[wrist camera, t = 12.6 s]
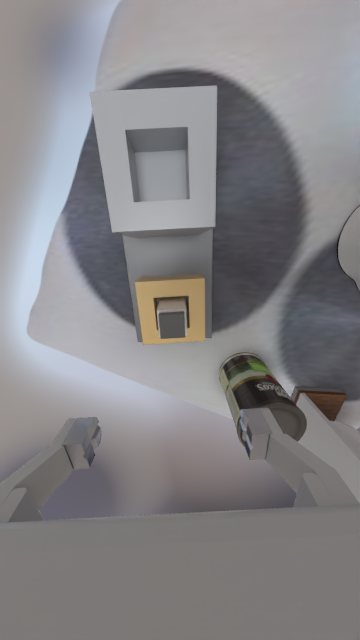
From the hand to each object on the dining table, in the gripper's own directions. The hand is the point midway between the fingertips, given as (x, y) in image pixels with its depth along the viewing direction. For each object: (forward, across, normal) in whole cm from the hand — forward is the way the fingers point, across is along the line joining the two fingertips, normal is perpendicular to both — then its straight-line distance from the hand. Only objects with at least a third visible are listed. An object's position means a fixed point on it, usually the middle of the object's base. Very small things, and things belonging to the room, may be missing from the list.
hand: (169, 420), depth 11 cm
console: (+26, 0, -8) cm, 27 cm away
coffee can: (+26, -14, +17) cm, 34 cm away
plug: (+24, 0, 0) cm, 24 cm away
